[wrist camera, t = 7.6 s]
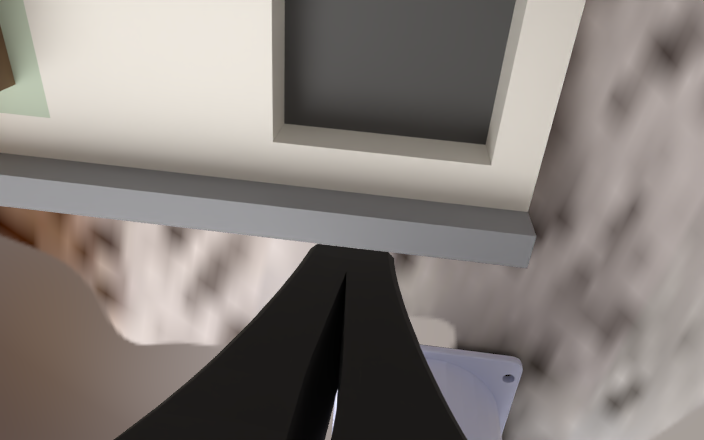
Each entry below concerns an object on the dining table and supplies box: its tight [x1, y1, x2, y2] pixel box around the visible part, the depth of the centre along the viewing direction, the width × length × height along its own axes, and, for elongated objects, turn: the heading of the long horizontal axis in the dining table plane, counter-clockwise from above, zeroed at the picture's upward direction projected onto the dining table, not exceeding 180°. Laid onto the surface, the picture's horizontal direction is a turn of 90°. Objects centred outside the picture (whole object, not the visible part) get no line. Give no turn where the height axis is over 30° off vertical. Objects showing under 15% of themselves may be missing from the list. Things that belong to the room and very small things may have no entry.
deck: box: [0, 0, 586, 268], centre depth 16 cm, size 14×24×4 cm, turn 86°
